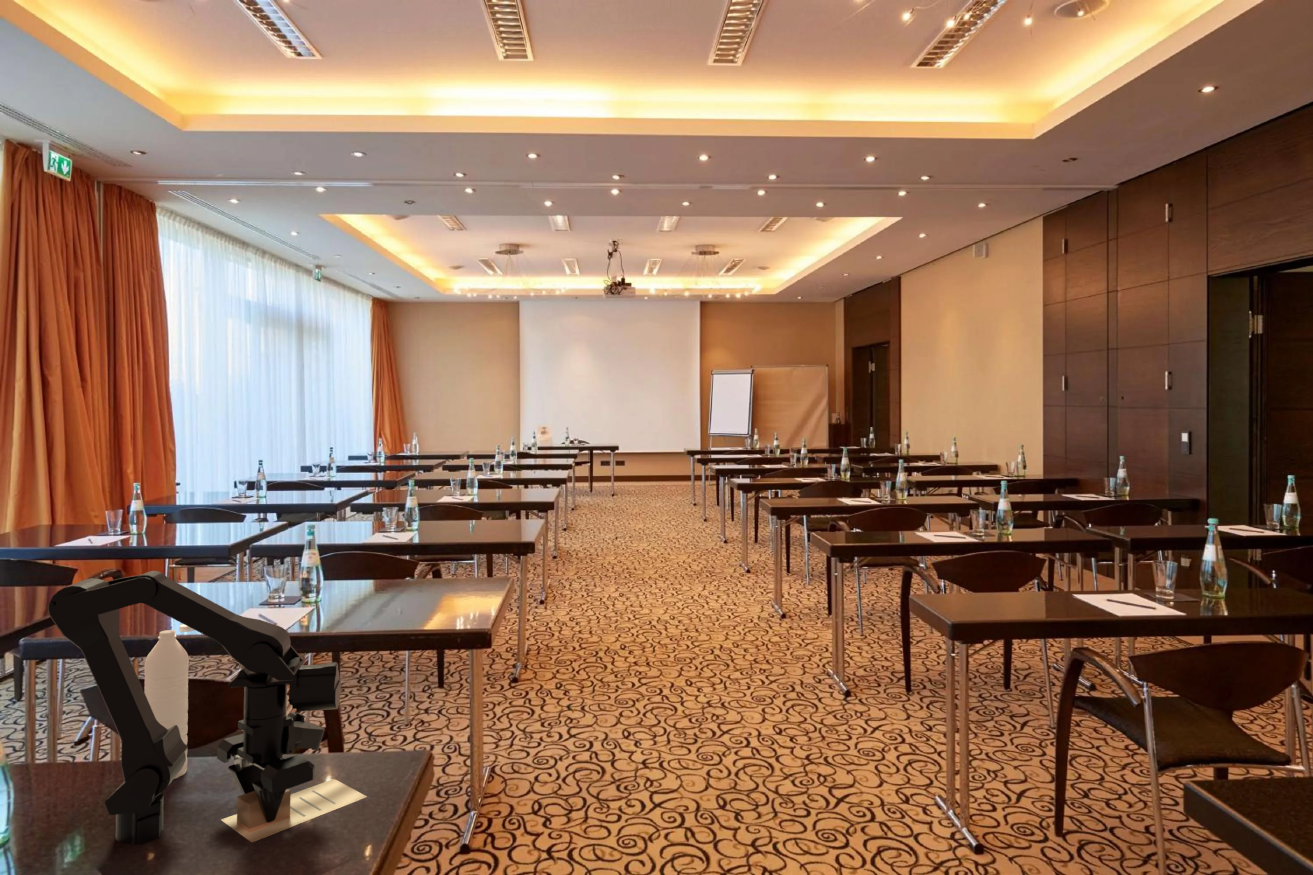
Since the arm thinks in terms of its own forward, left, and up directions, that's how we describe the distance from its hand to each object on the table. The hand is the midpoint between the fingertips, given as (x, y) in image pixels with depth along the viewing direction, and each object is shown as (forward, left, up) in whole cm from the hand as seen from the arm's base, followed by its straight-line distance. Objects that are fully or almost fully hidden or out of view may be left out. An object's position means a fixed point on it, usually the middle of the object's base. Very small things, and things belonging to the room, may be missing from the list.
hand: (263, 816), depth 116 cm
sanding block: (0, 0, 0) cm, 0 cm away
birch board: (0, +5, -2) cm, 5 cm away
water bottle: (-32, -1, -2) cm, 32 cm away
